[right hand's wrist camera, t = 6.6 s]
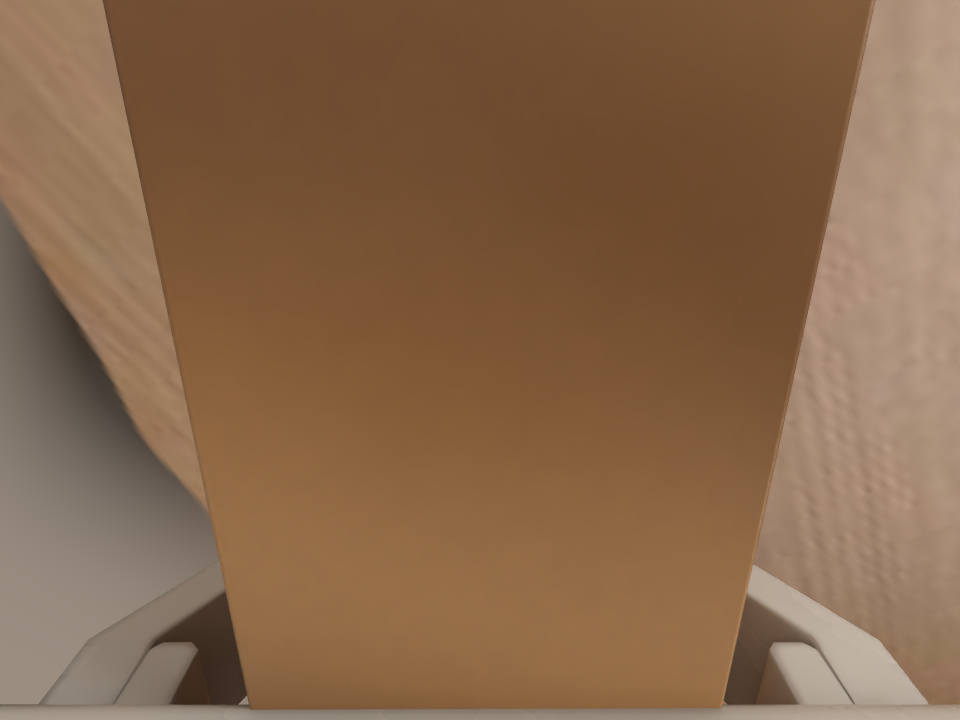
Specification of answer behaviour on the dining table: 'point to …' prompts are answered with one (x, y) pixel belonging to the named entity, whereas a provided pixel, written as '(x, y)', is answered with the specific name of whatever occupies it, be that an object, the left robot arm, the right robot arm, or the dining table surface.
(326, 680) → the beam
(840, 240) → the dining table surface
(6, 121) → the dining table surface
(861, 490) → the dining table surface
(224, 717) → the right robot arm
